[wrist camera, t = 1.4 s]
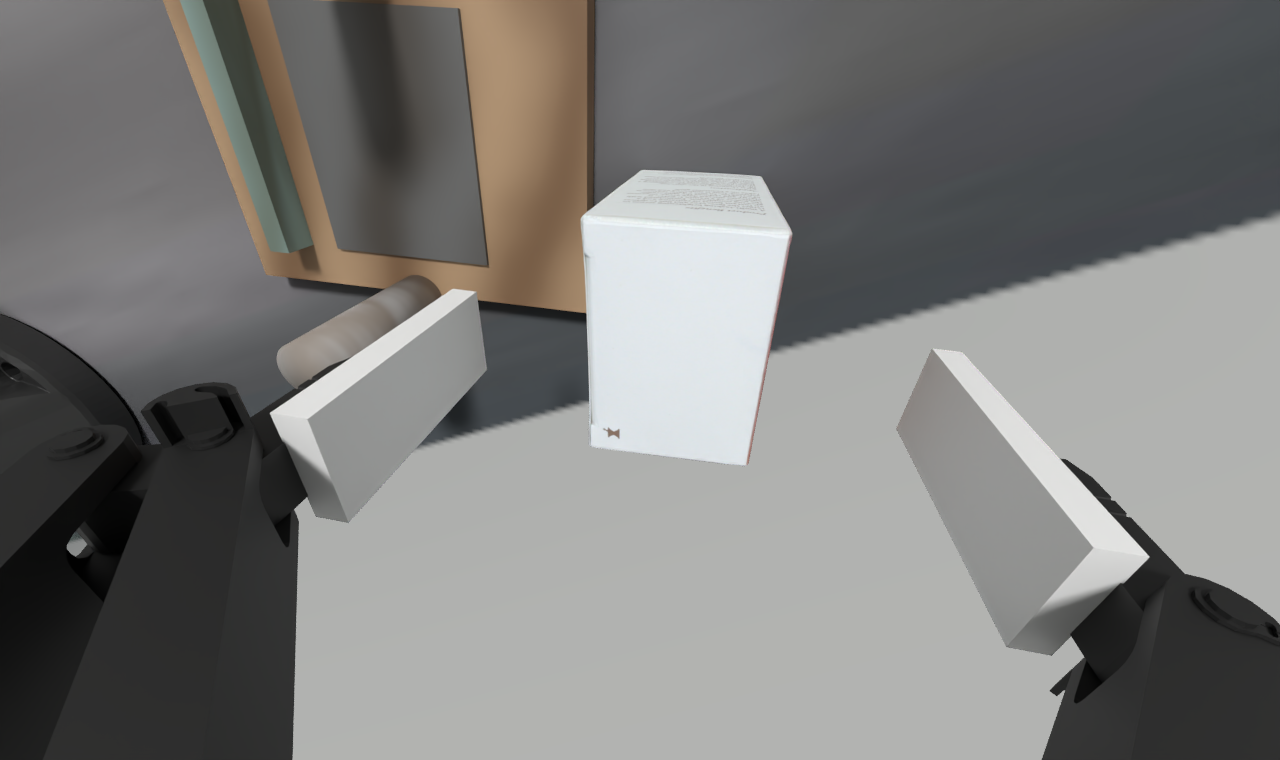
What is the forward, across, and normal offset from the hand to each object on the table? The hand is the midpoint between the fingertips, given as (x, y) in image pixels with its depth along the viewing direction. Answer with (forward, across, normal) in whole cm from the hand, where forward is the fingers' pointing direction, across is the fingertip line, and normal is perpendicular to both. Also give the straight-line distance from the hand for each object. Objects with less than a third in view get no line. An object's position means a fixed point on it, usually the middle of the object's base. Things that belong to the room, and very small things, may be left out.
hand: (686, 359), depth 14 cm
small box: (+10, 0, 0) cm, 11 cm away
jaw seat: (+10, -14, +4) cm, 18 cm away
